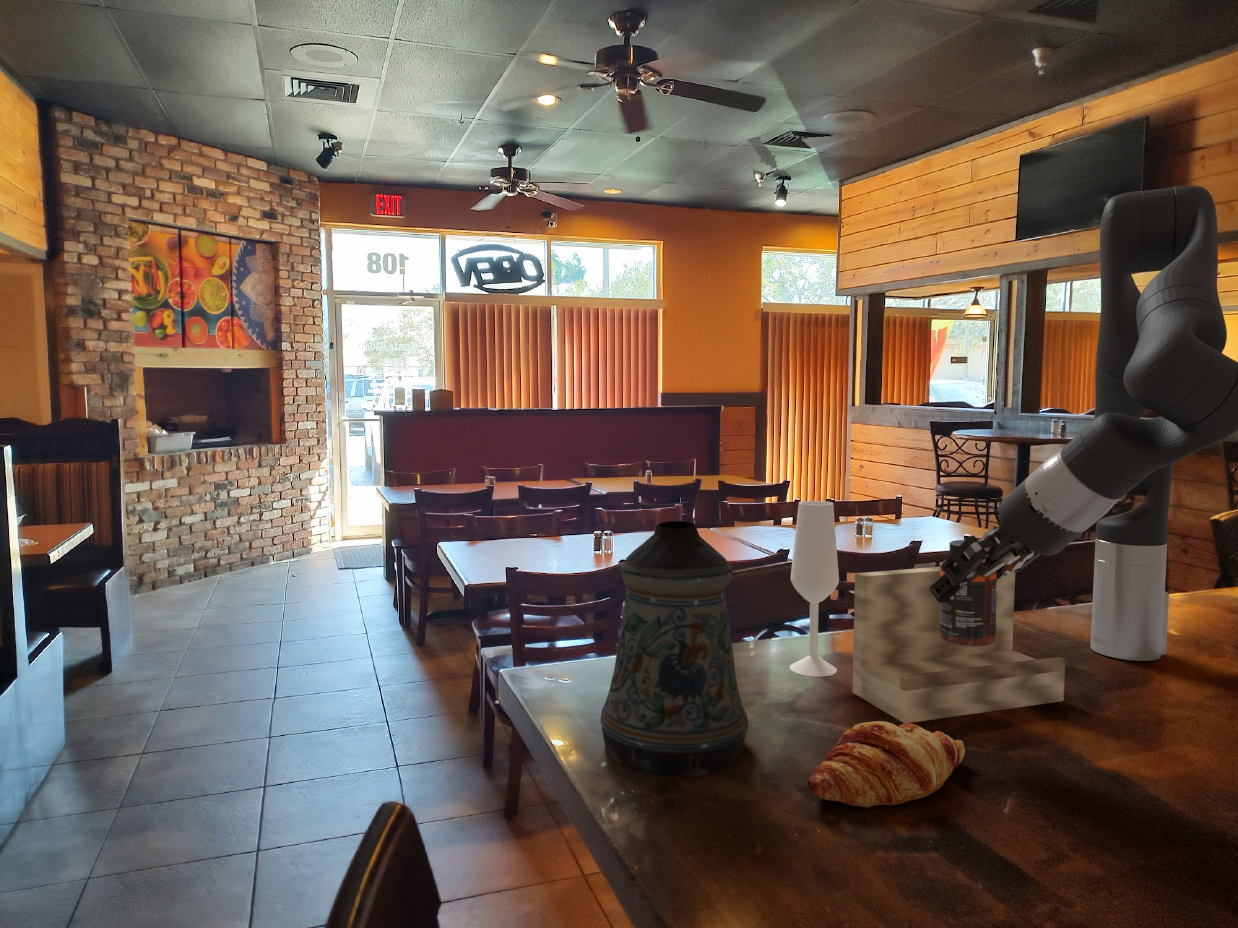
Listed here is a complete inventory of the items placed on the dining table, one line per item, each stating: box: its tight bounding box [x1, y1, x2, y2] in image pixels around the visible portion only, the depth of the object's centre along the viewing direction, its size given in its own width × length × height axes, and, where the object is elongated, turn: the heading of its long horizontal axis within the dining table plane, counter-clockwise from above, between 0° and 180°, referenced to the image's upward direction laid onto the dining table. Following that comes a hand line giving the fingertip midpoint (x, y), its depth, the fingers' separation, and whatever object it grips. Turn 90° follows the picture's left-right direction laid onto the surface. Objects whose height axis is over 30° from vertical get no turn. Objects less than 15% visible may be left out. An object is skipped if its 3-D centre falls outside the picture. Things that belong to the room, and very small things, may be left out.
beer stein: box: [600, 520, 750, 777], centre depth 95 cm, size 16×19×25 cm
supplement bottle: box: [940, 539, 997, 647], centre depth 95 cm, size 6×6×11 cm
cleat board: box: [852, 566, 1066, 724], centre depth 108 cm, size 24×11×16 cm, turn 108°
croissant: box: [806, 720, 966, 809], centre depth 85 cm, size 21×10×8 cm, turn 120°
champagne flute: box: [789, 500, 840, 677], centre depth 119 cm, size 7×7×24 cm
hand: (954, 591), depth 96 cm, fingers closed on supplement bottle, 6 cm apart
